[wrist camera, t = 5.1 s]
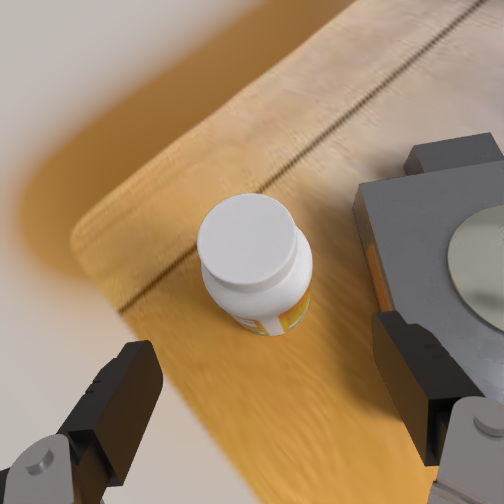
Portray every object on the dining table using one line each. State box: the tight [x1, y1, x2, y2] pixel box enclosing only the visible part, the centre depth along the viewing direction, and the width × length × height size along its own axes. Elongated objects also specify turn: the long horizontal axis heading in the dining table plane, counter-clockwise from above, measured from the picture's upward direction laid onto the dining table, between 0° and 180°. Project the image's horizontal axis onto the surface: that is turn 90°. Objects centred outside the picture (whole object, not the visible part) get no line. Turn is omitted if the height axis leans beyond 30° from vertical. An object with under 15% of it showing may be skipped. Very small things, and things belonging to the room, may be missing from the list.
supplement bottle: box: [197, 193, 313, 336], centre depth 16 cm, size 5×5×10 cm
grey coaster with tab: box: [352, 132, 504, 404], centre depth 17 cm, size 17×14×3 cm
